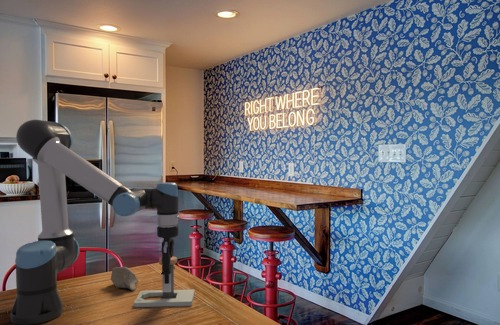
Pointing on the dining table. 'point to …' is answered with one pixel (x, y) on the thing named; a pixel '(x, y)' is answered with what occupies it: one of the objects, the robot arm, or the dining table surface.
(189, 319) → the dining table surface
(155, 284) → the dining table surface
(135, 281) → the decorative stone
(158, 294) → the keyhole board
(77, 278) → the dining table surface
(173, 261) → the peg
